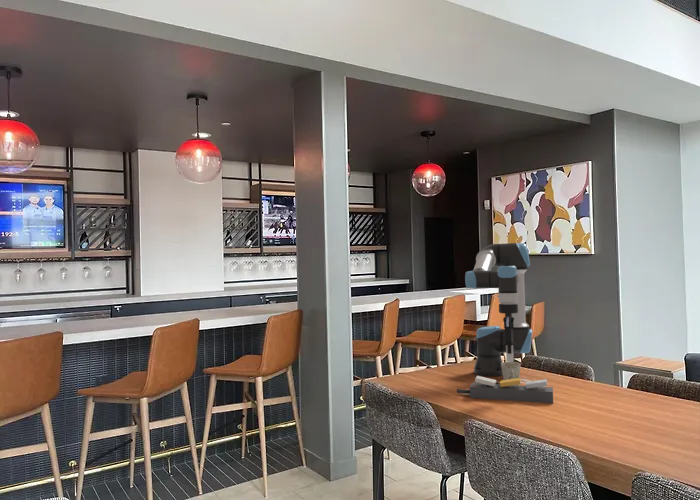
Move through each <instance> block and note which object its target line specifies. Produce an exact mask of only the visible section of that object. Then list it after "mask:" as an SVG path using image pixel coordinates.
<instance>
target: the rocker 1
mask: <svg viewBox="0 0 700 500" xmlns="http://www.w3.org/2000/svg"><path fill="white" fill-rule="evenodd" d="M474 383H482V384H486V385H490V386H494V387H495V385H496V384H497V380H496V379H493V378H489V377H486V376H482V375H476V377H475V379H474Z"/></svg>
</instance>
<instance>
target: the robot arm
mask: <svg viewBox="0 0 700 500" xmlns="http://www.w3.org/2000/svg"><path fill="white" fill-rule="evenodd" d="M528 249H529V248H528V246H527V244H526V243H523V242H514V243H513V242H511V243H509V242H508V243H492V244H489V245H487V246H484V247H483V248H482V249H480V250H479V252H477V254H476V257H475V264H474V268H473V270H470V271H469V270H468V271H466V272H465V275H464V281H465V284H464V285H465V287H466V288H467V289H475V290H476V289H497V290H498V295H496V297H497V299H498V303H499V304H498V312H499V314H504V317H503V319H502V320H503V328H501V326H500V325H490V326H484V327H483V326H482V327H479V328H477V329H476V337H475V339H476V360H475V364H474V367H473V373H474V374H475V375H476V376H482V377H499V376H503V373H502V367H501V363H502V362H503V360H502V354H503V353H505V356H506V358H505V359H506V360H505V362H515V361H514V360H515V359H514V354H528V353H530V352H531V346H532V339H533V330H532V329H531V328H530V325H529V324H528V323H527V318H526V315H527V314H526V291H525V289H526V288H525V273H527V271H528V267H530V266H531V262H530V261H531V260H530V255H529V250H528ZM496 267H497V270H492V268H496Z"/></svg>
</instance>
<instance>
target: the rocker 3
mask: <svg viewBox="0 0 700 500" xmlns="http://www.w3.org/2000/svg"><path fill="white" fill-rule="evenodd" d="M525 386H526V389H527V388H535V387H548V380H547V379H546V378H544V379H537V380H536V379H535V380H531V381H526V382H525Z"/></svg>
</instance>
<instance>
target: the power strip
mask: <svg viewBox="0 0 700 500" xmlns="http://www.w3.org/2000/svg"><path fill="white" fill-rule="evenodd" d="M456 394H466V395H469V399H479V400H480V399H481V400H495V401H496V400H497V401H509V400H510V401H511V402H527V403H539V404H540V403H541V404H554V387H553V386H543V387H535V388H527V389H526V385H521V384H520V385H512V386H505V387H500V383H496V385H495V387H494V386H490V385H486V384H482V383H478V382H472V383H471V384H470V386H469V389H463V388H462V389H460V388H457V389H456Z"/></svg>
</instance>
